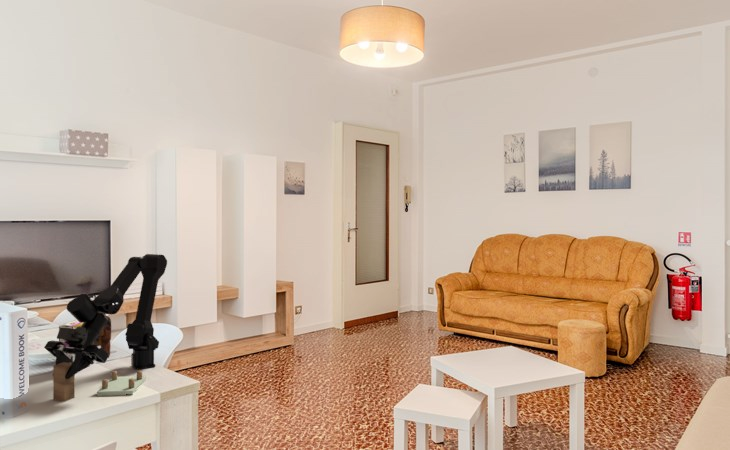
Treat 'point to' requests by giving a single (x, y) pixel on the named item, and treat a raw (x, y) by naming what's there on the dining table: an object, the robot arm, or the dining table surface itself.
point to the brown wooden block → (63, 383)
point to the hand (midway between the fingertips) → (60, 377)
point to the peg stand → (121, 384)
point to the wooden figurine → (105, 338)
